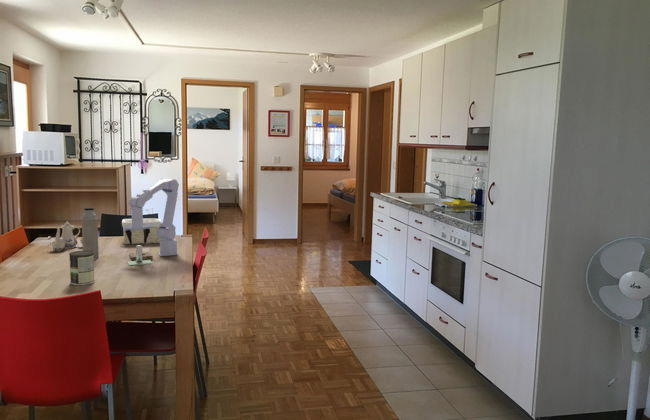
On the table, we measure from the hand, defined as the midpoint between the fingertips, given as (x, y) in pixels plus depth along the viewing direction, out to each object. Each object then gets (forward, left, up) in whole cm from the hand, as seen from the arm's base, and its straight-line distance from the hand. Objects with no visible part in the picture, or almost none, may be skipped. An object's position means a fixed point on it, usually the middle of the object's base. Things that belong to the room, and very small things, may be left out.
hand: (137, 243), depth 289 cm
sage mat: (0, +4, -10) cm, 11 cm away
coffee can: (+29, +35, -10) cm, 47 cm away
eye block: (-2, -6, -10) cm, 12 cm away
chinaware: (+33, -52, -11) cm, 63 cm away
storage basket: (-9, -57, -11) cm, 59 cm away
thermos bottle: (+23, -19, -10) cm, 31 cm away
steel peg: (0, +4, -10) cm, 10 cm away
